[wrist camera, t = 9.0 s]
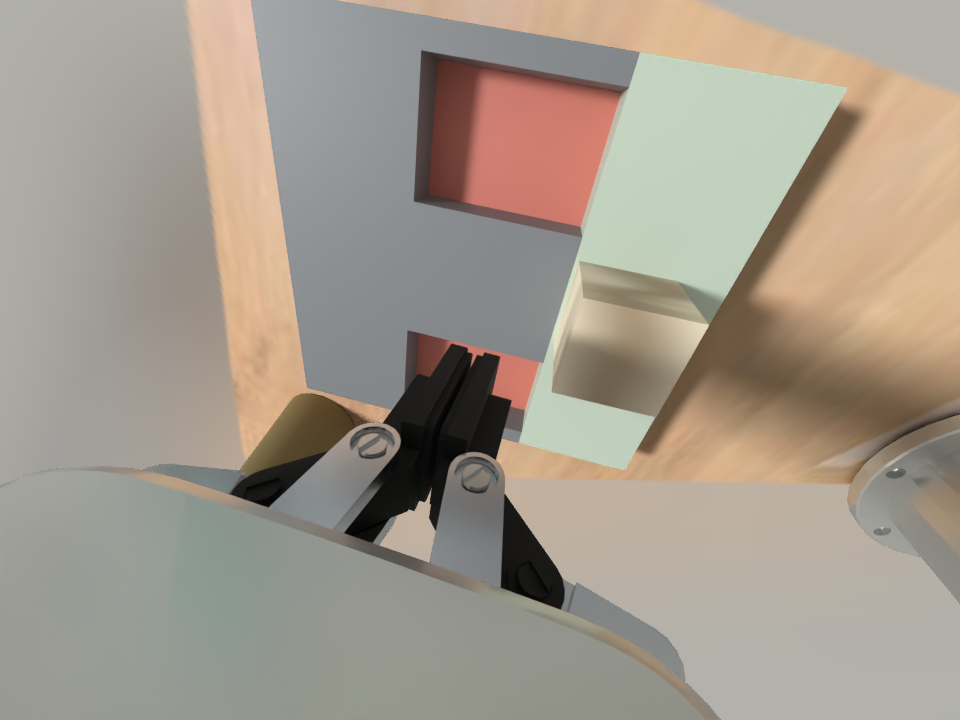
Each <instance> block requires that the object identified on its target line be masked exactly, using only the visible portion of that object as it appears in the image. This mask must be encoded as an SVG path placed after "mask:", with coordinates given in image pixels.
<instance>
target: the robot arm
mask: <svg viewBox="0 0 960 720" xmlns="http://www.w3.org/2000/svg"><path fill="white" fill-rule="evenodd" d="M472 357H473V353H469V352H468V348H467V347H464V346H460V345H456V344H451V345H450V346H449V348H448V349H447V351H446V353H445V354H444V356H443V357H442V359H441V360H440V362H439V363H438V365H437V367H436V368H435V370H434V371H433V373H432V374H431V376H430V377H428V376H424V375H421V374H418V375H417V376H416V377H415V378H414V380H413V381H412V382H411V384H410V385H409V387H408V388H407V390H406V391H405V392H404V394H403V395H402V397H401V398H400V400H399V401H398V402H397V404H396V405H395V407H394V408H393V409H392V411H391V412H390V414H389V415H388V417H387V418H386V419H385V421H384V422H383V423H375V422H372V423H365V424H362V425H360V426H357V427H355V428H354V429H352V430H351V431H350V432H349V433H348V434H346V435H345V436H344V437H343V438H342V439H341V440H340V441H339V442H338V443H337V444H336V445H335V446H334V447H333V448H331V449H330V450H329V451H326V452H323V453H319V454H316V455H312V456H309V457H305V458H302V459H298V460H295V461H291V462H288V463H284V464H281V465H277V466H274V467H270V468H267V469H263V470H260V471H258V472H255V473H253V474H251V475H249V476H247V475H245V473H244V471H238V470H228V469H218V468H208V467H196V466H187V465H177V464H159V465H155V466H152V467H148V468H146V469H144V470H139V469H134V468H125V467H112V466H81V467H66V468H56V469H50V470H44V471H40V472H36V473H32V474H29V475H25V476H22V477H20V478H17V479H15V480H12V481H10V482H7V483H5V484H3V485H1V486H0V720H721V719H720V718H719V717H718V716H717V715H716V713H715V712H714V711H713V710H712V708H711V707H710V706H709V705H708V704H707V703H706V702H705V701H704V700H703V699H702V698H701V697H700V696H699V695H698V694H697V693H696V692H695V691H694V690H693V689H692V688H691V686H689V685H688V684H687V683H686V682H685V674H684V667H683V664H682V661H681V659H680V657H679V655H678V652H677V650H676V649H675V648H674V646H673V645H672V644H671V642H670V641H669V640H668V638H666V637H665V636H664V635H663V634H661V633H660V632H659V631H658V630H656V629H655V628H653V627H651V626H650V625H648V624H646V623H645V622H643V621H641V620H640V619H638V618H636V617H635V616H633V615H631V614H630V613H628V612H626V611H624V610H623V609H621V608H619V607H618V606H616V605H614V604H613V603H611V602H609V601H608V600H606V599H604V598H603V597H601V596H599V595H597V594H596V593H594V592H592V591H591V590H589V589H587V588H586V587H584V586H582V585H581V584H579V583H576V585H575V586H574V585H572V584H571V583H569V582H567V581H565V580H564V579H562V577H561V575H560V573H559V571H558V569H557V568H556V566H555V565H554V563H553V562H552V560H551V559H550V557H549V556H548V555H547V553H546V552H545V550H544V549H543V548H542V546H541V545H540V544H539V542H538V541H537V539H536V538H535V536H534V535H533V534H532V532H531V531H530V529H529V528H528V526H527V525H526V523H525V522H524V520H523V519H522V518H521V516H520V515H519V513H518V512H517V511H516V509H515V508H514V506H513V505H512V504H511V502H510V501H509V499H508V498H507V496H506V495H505V493H504V491H505V476H504V471H503V469H502V467H501V465H500V464H499V463H498V462H497V461H496V457H497V454H498V450H499V446H500V443H501V439H502V435H503V432H504V428H505V424H506V420H507V417H508V413H509V409H510V406H511V402H512V400H510V399H506V398H502V397H499V396H495V395H492V392H493V388H494V384H495V379H496V375H497V371H498V366H499V362H500V356H497V355H493V354H490V353H486V352H484V354H483V356H481V355H477V356H476V358H475V360H474V362H473V364H472V366H471V363H472ZM431 488H432V490H431ZM430 490H431V498H430V504H431V508H430V516H429V519H430V521H431V523H432V525H433V527H434V529H435V531H436V533H435V538H434V543H433V548H432V552H431V557H430V562H429V563H428V562H425V561H422V560H419V559H417V558H414V557H411V556H407V555H405V554H402V553H399V552H396V551H393V550H391V549H388V548H385V547H382V546H379V545H380V543H381V542H382V540H383V539H384V537H385V536H386V534H387V533H388V532H389V530H390V529H391V527H392V526H393V524H394V522H395V520H396V517H397V515H399V514H402V513H404V512H407V511H408V509H410V510H413V511H414V510H415V509H416V507H417V504H418V502H419V501H422V502H425V501H426V499H427V497H428V495H429V493H430ZM848 504H849V509H850V512H851V513H852V515H853V516H854V518H855V520H856V521H857V522H858V524H859V525H860V527H861V528H862V529H863V530H864V532H865V533H866V534H867V535H868V536H870V537H871V538H872V539H874V540H876V541H877V542H878V543H880V544H882V545H884V546H886V547H889V548H891V549H893V550H896V551H898V552H902V553H906V554H910V555H913V556H917V557H922V559H923V560H924V561H925V562H926V564H927V565H928V566H929V567H930V568H931V570H933V572H934V573H935V574H936V576H937V577H938V578H939V579H940V580H941V582H942V583H943V584H944V585H945V586H946V587H947V589H948V590H949V591H950V592H951V594H952V595H953V596H954V597H955V598H956V600H957V601H958V602H959V603H960V414H959V415H956V416H953V417H950V418H947V419H944V420H941V421H938V422H935V423H932V424H929V425H927V426H925V427H922V428H920V429H918V430H916V431H914V432H911V433H909V434H907V435H905V436H903V437H901V438H900V439H898V440H896V441H895V442H893V443H891V444H890V445H888V446H886V447H884V448H883V449H882V450H881V451H879V452H878V453H877V454H876V455H874V456H873V457H872V458H871V459H869V460H868V461H867V462H866V463H865V465H864V466H863V467H862V468H861V469H860V470H859V472H858V473H857V474H856V475H855V477H854V479H853V481H852V483H851V485H850V487H849V493H848Z"/></svg>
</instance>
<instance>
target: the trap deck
mask: <svg viewBox="0 0 960 720" xmlns="http://www.w3.org/2000/svg"><path fill="white" fill-rule="evenodd" d="M251 4H252V11H253V18H254V25H255V32H256V38H257V45H258V52H259V59H260V66H261V73H262V80H263V87H264V94H265V101H266V107H267V114H268V121H269V128H270V135H271V142H272V149H273V156H274V163H275V170H276V177H277V183H278V190H279V197H280V204H281V211H282V218H283V225H284V232H285V239H286V246H287V252H288V259H289V266H290V273H291V280H292V287H293V294H294V301H295V308H296V315H297V322H298V328H299V335H300V342H301V349H302V356H303V363H304V370H305V377H306V384H307V388H310V389H314V390H318V391H322V392H325V393H329V394H333V395H337V396H341V397H345V398H348V399H352V400H356V401H360V402H364V403H368V404H371V405H375V406H379V407H383V408H387V409H391V410H392V409H393V408H394V407H395V405H396V404H397V402H398V401H399V400H400V398H401V397H402V395H403V394H404V392H405V391H406V390H407V388H408V387H409V385H410V384H411V382H412V381H413V380H414V378H415V377H416V376H417V375H418V374H421V375H424V376H428V377H430V376H431V374H432V373H433V371H434V370H435V368H436V367H437V365H438V363H439V362H440V360H441V359H442V357H443V356H444V354H445V353H446V351H447V349H448V348H449V346H450V345H451V344H456V345H460V346H464V347H467V348H468V352H469V353H473V357H472V363H471V366H472V364H473V362H474V360H475V358H476V356H477V355H481V356H483V354H484V352H486V353H490V354H493V355H497V356H500V362H499V366H498V371H497V375H496V379H495V384H494V388H493V392H492V395H495V396H499V397H502V398H506V399H510V400H512V402H511V406H510V409H509V413H508V417H507V420H506V424H505V428H504V432H503V435H502V439H506V440H510V441H513V442H517V443H521V444H525V445H529V446H533V447H536V448H540V449H544V450H548V451H552V452H556V453H559V454H563V455H567V456H571V457H575V458H579V459H582V460H586V461H590V462H594V463H598V464H602V465H605V466H609V467H613V468H617V469H621V470H625V468H626V467H627V465H628V463H629V462H630V460H631V458H632V457H633V455H634V453H635V451H636V450H637V448H638V446H639V445H640V443H641V441H642V439H643V438H644V436H645V434H646V433H647V431H648V429H649V427H650V426H651V424H652V422H653V421H654V419H655V417H652V416H648V415H643V414H639V413H635V412H631V411H627V410H623V409H618V408H614V407H610V406H606V405H602V404H598V403H593V402H589V401H585V400H581V399H577V398H573V397H568V396H564V395H560V394H556V393H552V377H553V358H554V341H555V338H556V335H557V332H558V328H559V325H560V322H561V319H562V315H563V312H564V309H565V306H566V302H567V299H568V296H569V293H570V290H571V286H572V283H573V280H574V277H575V273H576V270H577V267H578V264H579V261H583V262H587V263H592V264H597V265H602V266H607V267H611V268H616V269H621V270H626V271H631V272H635V273H640V274H645V275H650V276H655V277H659V278H664V279H669V280H674V281H677V282H678V283H679V285H680V286H681V287H682V289H683V290H684V291H685V293H686V294H687V296H688V297H689V298H690V300H691V301H692V302H693V304H694V305H695V306H696V308H697V309H698V311H699V312H700V313H701V315H702V316H703V317H704V319H705V320H706V321H707V323H708V324H709V325H710V323H711V322H712V320H713V318H714V316H715V315H716V313H717V311H718V310H719V308H720V306H721V304H722V303H723V301H724V299H725V298H726V296H727V294H728V292H729V291H730V289H731V287H732V286H733V284H734V282H735V281H736V279H737V277H738V275H739V274H740V272H741V270H742V269H743V267H744V265H745V263H746V262H747V260H748V258H749V257H750V255H751V253H752V251H753V250H754V248H755V246H756V245H757V243H758V241H759V239H760V238H761V236H762V234H763V233H764V231H765V229H766V228H767V226H768V224H769V222H770V221H771V219H772V217H773V216H774V214H775V212H776V210H777V209H778V207H779V205H780V204H781V202H782V200H783V198H784V197H785V195H786V193H787V192H788V190H789V188H790V187H791V185H792V183H793V181H794V180H795V178H796V176H797V175H798V173H799V171H800V169H801V168H802V166H803V164H804V163H805V161H806V159H807V157H808V156H809V154H810V152H811V151H812V149H813V147H814V146H815V144H816V142H817V140H818V139H819V137H820V135H821V134H822V132H823V130H824V128H825V127H826V125H827V123H828V122H829V120H830V118H831V116H832V115H833V113H834V111H835V110H836V108H837V106H838V105H839V103H840V101H841V99H842V98H843V96H844V94H845V93H846V91H847V89H848V88H847V87H842V86H836V85H830V84H824V83H818V82H812V81H806V80H801V79H795V78H789V77H783V76H777V75H771V74H765V73H759V72H754V71H748V70H742V69H736V68H730V67H724V66H718V65H712V64H707V63H701V62H695V61H689V60H683V59H677V58H671V57H665V56H660V55H654V54H648V53H642V52H636V51H630V50H624V49H618V48H613V47H607V46H601V45H595V44H589V43H583V42H577V41H571V40H566V39H560V38H554V37H548V36H542V35H536V34H530V33H525V32H519V31H513V30H507V29H501V28H495V27H489V26H483V25H478V24H472V23H466V22H460V21H454V20H448V19H442V18H436V17H431V16H425V15H419V14H413V13H407V12H401V11H395V10H389V9H384V8H378V7H372V6H366V5H360V4H354V3H348V2H342V1H337V0H251ZM708 327H709V326H708Z"/></svg>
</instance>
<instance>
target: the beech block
mask: <svg viewBox="0 0 960 720" xmlns="http://www.w3.org/2000/svg"><path fill="white" fill-rule="evenodd" d="M708 326H709V324H708V323H707V321H706V320H705V319H704V317H703V316H702V315H701V313H700V312H699V311H698V309H697V308H696V306H695V305H694V304H693V302H692V301H691V300H690V298H689V297H688V296H687V294H686V293H685V291H684V290H683V289H682V287H681V286H680V285H679V283H678V282H677V281H674V280H669V279H664V278H659V277H655V276H650V275H645V274H640V273H635V272H631V271H626V270H621V269H616V268H611V267H607V266H602V265H597V264H592V263H587V262H583V261H579V264H578V267H577V270H576V273H575V277H574V280H573V283H572V286H571V290H570V293H569V296H568V299H567V302H566V306H565V309H564V312H563V315H562V319H561V322H560V325H559V328H558V332H557V335H556V338H555V341H554V358H553V377H552V393H556V394H560V395H564V396H568V397H573V398H577V399H581V400H585V401H589V402H593V403H598V404H602V405H606V406H610V407H614V408H618V409H623V410H627V411H631V412H635V413H639V414H643V415H648V416H652V417H657V415H658V414H659V412H660V410H661V409H662V407H663V405H664V403H665V402H666V400H667V398H668V396H669V395H670V393H671V391H672V389H673V388H674V386H675V384H676V382H677V381H678V379H679V377H680V375H681V374H682V372H683V370H684V368H685V367H686V365H687V363H688V361H689V360H690V358H691V356H692V354H693V353H694V351H695V349H696V347H697V346H698V344H699V342H700V340H701V339H702V337H703V335H704V333H705V332H706V330H707V328H708Z"/></svg>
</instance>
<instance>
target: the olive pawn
mask: <svg viewBox="0 0 960 720" xmlns="http://www.w3.org/2000/svg"><path fill="white" fill-rule="evenodd" d="M354 428H355V426H354V424H353V422H352V420H351V418H350V416H349V415H348V414H347V413H346V412H345V410H344V409H343V408H341V407H340V406H339V405H338V404H336V403H335V402H334V401H332V400H330V399H328V398H325V397H323V396H320V395H316V394H301V395H298V396H296V397H294V398H293V399H292V400H291V401H290V403H289V404H288V405H287V407H286V408H285V409H284V411H283V412H282V413H281V415H280V416H279V418H278V419H277V420H276V422H275V423H274V424H273V426H272V427H271V428H270V430H269V431H268V432H267V434H266V435H265V436H264V438H263V439H262V440H261V442H260V443H259V445H258V446H257V447H256V449H255V450H254V451H253V453H252V454H251V455H250V457H249V458H248V459H247V461H246V462H245V463H244V465H243V466H242V468H241V469H240V470H239V471H244V473H245V475H247V476H249V475H251V474H253V473H255V472H258V471H260V470H263V469H267V468H270V467H274V466H277V465H281V464H284V463H288V462H291V461H295V460H298V459H302V458H305V457H309V456H312V455H316V454H319V453H323V452H326V451H329V450H330V449H331V448H333V447H334V446H335V445H336V444H337V443H338V442H339V441H340V440H341V439H342V438H343V437H344V436H345V435H346V434H348V433H349V432H350V431H351V430H352V429H354Z"/></svg>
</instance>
